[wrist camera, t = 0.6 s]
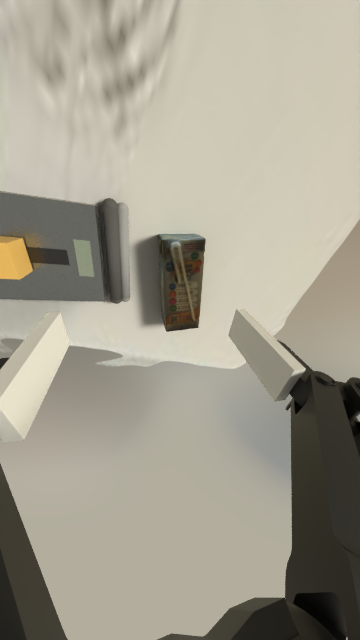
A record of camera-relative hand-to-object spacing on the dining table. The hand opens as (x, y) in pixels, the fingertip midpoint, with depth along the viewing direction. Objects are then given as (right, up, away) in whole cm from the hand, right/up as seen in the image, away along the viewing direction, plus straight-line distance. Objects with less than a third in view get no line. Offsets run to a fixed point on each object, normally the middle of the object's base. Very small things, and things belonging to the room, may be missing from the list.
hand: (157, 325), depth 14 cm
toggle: (-24, +11, +14) cm, 29 cm away
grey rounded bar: (-11, +12, +20) cm, 26 cm away
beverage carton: (+1, +9, +25) cm, 27 cm away
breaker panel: (-24, +12, +16) cm, 32 cm away
